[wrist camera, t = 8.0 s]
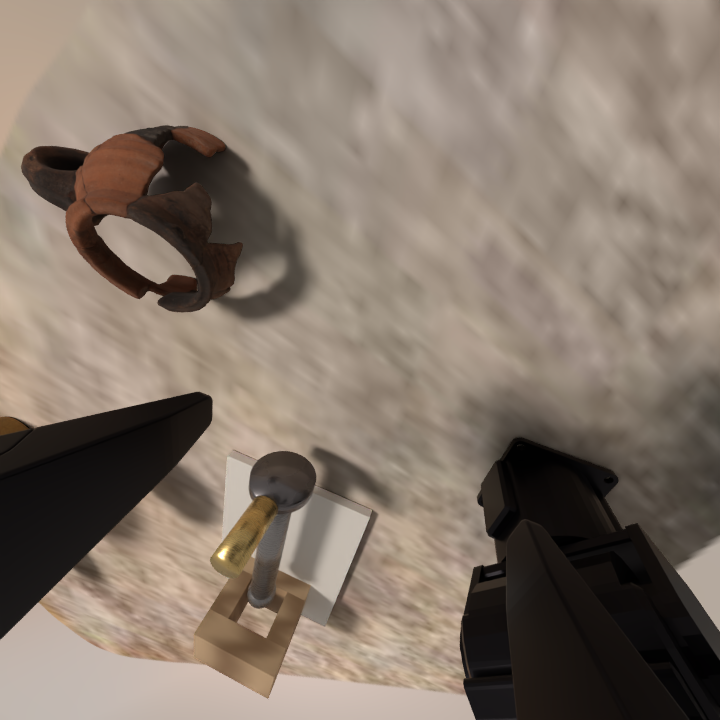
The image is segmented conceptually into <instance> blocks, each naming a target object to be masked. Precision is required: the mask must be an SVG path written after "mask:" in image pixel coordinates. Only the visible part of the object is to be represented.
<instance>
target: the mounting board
mask: <svg viewBox="0 0 720 720" xmlns="http://www.w3.org/2000/svg"><path fill="white" fill-rule="evenodd" d="M256 462H257V460H255V459H253V458H251V457H248V456H246V455H244V454H241V453H239V452H237V451H234V450H232V451H231V452H230V453H229V454H228V455H227V469H226V484H225V499H224V514H223V529H222V542H223V540H224V539H225V538H226V536H227V535H228V533H229V532H230V531H231V529H232V528H233V527H234V525H235V524H236V523H237V521H238V520H239V519H240V517H241V516H242V514H243V513H244V512H245V510H246V509H247V508H248V506H249V505H250V504H251V502H252V499H251V497H250V494H249V479H250V472H251V470H252V468H253V466H254V464H255V463H256ZM371 512H372V510H371V509H369V508H366V507H364V506H362V505H359V504H357V503H355V502H353V501H350V500H348V499H346V498H343V497H341V496H339V495H336V494H334V493H332V492H329V491H327V490H325V489H322V488H320V487H318V486H314V490H313V494H312V496H311V498H310V500H309V501H308V503H307V504H306V505H305V506H304V507H302V508H301V509H299V510H297V511H295V512H292V513H291V517H290V522H289V526H288V531H287V535H286V540H285V544H284V549H283V553H282V557H281V562H280V566H279V570H280V571H282V572H284V573H286V574H288V575H290V576H292V577H294V578H297V579H299V580H301V581H303V582H305V583H307V584H309V585H311V587H310V590H309V593H308V596H307V599H306V602H305V605H304V608H303V611H302V613H301V615H303V616H305V617H307V618H309V619H311V620H313V621H315V622H317V623H319V624H321V625H323V626H325V625H326V623H327V620H328V618H329V616H330V613H331V611H332V608H333V606H334V603H335V601H336V599H337V596H338V594H339V591H340V589H341V586H342V584H343V582H344V579H345V577H346V574H347V572H348V569H349V567H350V565H351V562H352V560H353V557H354V555H355V553H356V550H357V548H358V545H359V543H360V540H361V538H362V536H363V533H364V531H365V528H366V526H367V523H368V521H369V519H370V515H371ZM255 555H256V549H255V551H254V552H253V554H252V556H251V557H253V558H255ZM227 578H228V577H227Z"/></svg>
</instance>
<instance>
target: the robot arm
mask: <svg viewBox="0 0 720 720" xmlns="http://www.w3.org/2000/svg"><path fill="white" fill-rule="evenodd" d="M212 402H213V401H212V398H211V396H209V395H207V394H204V393H201V392H194V393H190V394H185V395H181V396H176V397H172V398H167V399H163V400H158V401H154V402H149V403H145V404H140V405H136V406H131V407H127V408H122V409H118V410H113V411H109V412H104V413H100V414H95V415H91V416H86V417H82V418H77V419H73V420H68V421H64V422H59V423H55V424H50V425H46V426H41V427H37V428H35V429H27V430H23V431H18V432H14V433H10V434H5V435H0V639H2V638H3V637H4V636H5V635H6V634H7V633H8V632H9V631H10V630H11V629H12V628H13V627H14V626H15V625H16V624H17V623H18V622H19V621H20V620H21V619H22V618H23V617H24V616H25V615H26V614H27V613H28V612H29V611H30V610H31V609H32V608H33V607H34V606H35V605H36V604H37V603H38V602H39V601H40V600H41V599H42V598H43V597H44V596H45V595H46V594H47V593H48V592H49V591H50V590H51V589H52V588H53V587H54V586H55V585H56V584H57V583H58V582H59V581H60V580H61V579H62V578H63V577H64V576H65V575H66V574H67V573H68V572H69V571H70V570H71V569H72V568H73V567H74V566H75V565H76V564H77V563H78V562H79V561H80V560H81V559H82V558H83V557H84V556H85V555H86V554H87V553H88V552H89V551H90V550H91V549H92V548H93V547H95V546H96V545H97V544H98V543H99V542H100V541H101V540H102V539H103V538H104V537H105V536H106V535H107V534H108V533H109V532H110V531H111V530H112V529H113V528H114V527H115V526H116V525H117V524H118V523H119V522H120V521H121V520H122V519H123V518H124V517H125V516H126V515H127V514H128V513H129V512H130V511H131V510H132V509H133V508H134V507H135V506H136V505H137V504H138V503H139V502H140V501H141V500H142V499H143V498H144V497H145V496H146V495H147V494H148V493H149V492H150V491H151V490H152V489H153V488H154V487H155V486H156V485H157V484H158V483H159V482H160V481H161V480H162V479H163V478H164V477H165V476H166V475H167V474H168V473H169V472H170V471H171V470H172V469H173V468H174V467H175V466H176V465H177V464H178V462H179V461H180V460H181V459H182V458H183V457H184V455H185V454H186V453H187V452H188V451H189V449H190V448H191V447H192V446H193V445H194V443H195V442H196V441H197V440H198V439H199V437H200V436H201V435H202V434H203V433H204V431H205V430H206V429H207V428H208V427H209V425H210V423H211V421H212ZM519 444H522V445H523V446H522V447H518V446H517V445H519ZM607 477H610V478H608V479H605V478H607ZM617 483H618V478H617V476H616V475H615V473H614V472H613V471H611V470H608V469H606V468H603V467H600V466H598V465H595V464H592V463H589V462H587V461H584V460H581V459H579V458H576V457H573V456H570V455H568V454H565V453H562V452H560V451H557V450H554V449H552V448H549V447H546V446H543V445H541V444H538V443H535V442H533V441H530V440H527V439H524V438H520V437H519V438H515V439H513V440H512V442H511V443H510V445H509V447H508V448H507V450H506V451H505V453H504V454H503V456H502V458H501V459H500V460H497V461H496V462H495V463H494V465H493V466H492V468H491V469H490V471H489V473H488V474H487V476H486V477H485V479H484V481H483V482H482V484H481V491H480V492H479V494H478V496H477V501H478V504H479V505H480V506H482V507H484V516H485V524H486V532H487V534H488V536H489V537H492V538H494V541H495V548H496V555H497V562H498V563H496V564H493V565H489V566H485V567H484V566H483V565H481V566H477V567H474V569H473V574H472V578H471V583H470V588H469V592H468V597H467V602H466V606H465V611H464V615H463V617H462V621H461V632H460V651H461V656H462V663H463V667H464V672H465V676H466V678H465V679H464V681H463V684H464V689H465V692H466V695H467V697H468V700H469V702H470V705H471V708H472V711H473V713H474V716H475V719H476V720H720V631H719V630H718V629H717V627H716V626H715V624H714V623H713V621H712V620H711V619H710V617H709V616H708V614H707V613H706V611H705V610H704V608H703V607H702V605H701V604H700V603H699V601H698V600H697V598H696V597H695V595H694V594H693V592H692V591H691V590H690V588H689V587H688V586H687V584H686V583H685V582H684V581H683V579H682V578H681V577H680V575H679V574H678V573H677V572H676V571H675V569H674V568H673V567H672V566H671V564H670V563H669V562H668V561H667V559H666V558H665V557H664V556H663V554H662V553H661V552H660V551H659V549H658V548H657V547H656V546H655V544H654V543H653V542H652V541H651V539H650V538H649V537H648V536H647V534H646V533H645V532H644V531H643V529H642V528H641V527H640V526H639V524H638V523H636V524H632V525H629V526H625V528H626V529H622V527H621V526H620V524H619V522H618V520H617V519H616V517H615V515H614V513H613V512H612V510H611V508H610V506H609V505H608V503H607V501H606V499H605V498H604V497H605V496H606V495H607V494H608V493H609V492H610V491H611V490H612V488H613V487H614V486H615V485H616V484H617Z"/></svg>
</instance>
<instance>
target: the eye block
mask: <svg viewBox="0 0 720 720" xmlns="http://www.w3.org/2000/svg"><path fill="white" fill-rule="evenodd" d="M254 561H255V558H253V557H250V559H249V561H248V562H247V564H246V565H245V567H244V569H243V570H242V572H241V574H240V575H239V577H238V578H235V579H232V578H229V580H228V581H227V583H226V585H225V586H224V588H223V589H222V591H221V592H220V594H219V595H218V597H217V599H216V600H215V602H214V603H213V605H212V606H211V608H210V610H209V611H208V613H207V614H206V616H205V617H204V619H203V621H202V622H201V624H200V625H199V627H198V628H197V630H196V632H195V633H194V658H195V659H197V660H199V661H200V662H202V663H204V664H206V665H208V666H209V667H211V668H213V669H215V670H217V671H219V672H220V673H222V674H224V675H226V676H228V677H229V678H232V679H233V680H235V681H237V682H238V683H241V684H242V685H244V686H246V687H248V688H249V689H251V690H253V691H255V692H257V693H259V694H260V695H262V696H264V697H266V698H269V695H270V692H271V690H272V687H273V685H274V682H275V680H276V677H277V675H278V672H279V670H280V667H281V665H282V662H283V659H284V657H285V654H286V652H287V649H288V647H289V644H290V642H291V639H292V636H293V634H294V631H295V629H296V626H297V624H298V621H299V619H300V616H301V613H302V611H303V608H304V605H305V602H306V599H307V596H308V593H309V590H310V587H311V585H309V584H307V583H305V582H303V581H301V580H299V579H297V578H294V577H292V576H290V575H288V574H286V573H284V572H282V571H280V570H279V571H278V575H277V580H276V593H275V596H274V599H273V600H272V602H271V603H270V604H269V605H268V606H266V607H265V608H267V609H269V610H271V611H273V612H275V613H277V616H276V618H275V620H274V623H273V625H272V627H271V629H270V632H269V634H268V636H267V638H264V637H263V636H261V635H259V634H257V633H255V632H253V631H251V630H249V629H247V628H245V627H243V626H241V625H240V624H238V623H237V621H238V619H239V617H240V616H241V614H242V612H243V610H244V608H245V606H246V605H247V603H248V597H247V592H248V588H249V585H250V583H251V580H252V574H253V568H254Z"/></svg>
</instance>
